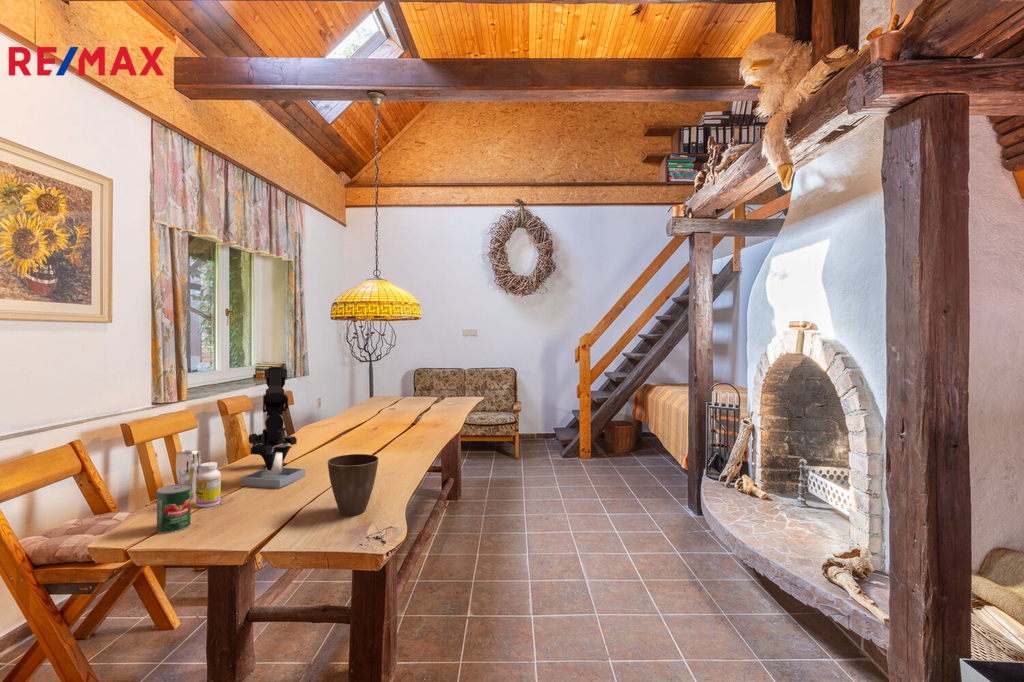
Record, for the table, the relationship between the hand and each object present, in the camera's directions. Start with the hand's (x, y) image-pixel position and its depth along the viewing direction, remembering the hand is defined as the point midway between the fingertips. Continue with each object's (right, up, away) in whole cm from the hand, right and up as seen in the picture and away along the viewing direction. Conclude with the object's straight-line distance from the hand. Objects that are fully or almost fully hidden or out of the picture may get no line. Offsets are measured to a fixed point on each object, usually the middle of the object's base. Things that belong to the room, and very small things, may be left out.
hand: (274, 468), depth 181 cm
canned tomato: (-7, -6, -43) cm, 44 cm away
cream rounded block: (0, -2, 0) cm, 2 cm away
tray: (0, -5, 0) cm, 5 cm away
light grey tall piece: (-19, -5, -19) cm, 27 cm away
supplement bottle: (-9, -5, -25) cm, 27 cm away
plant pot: (+38, -6, -29) cm, 48 cm away
